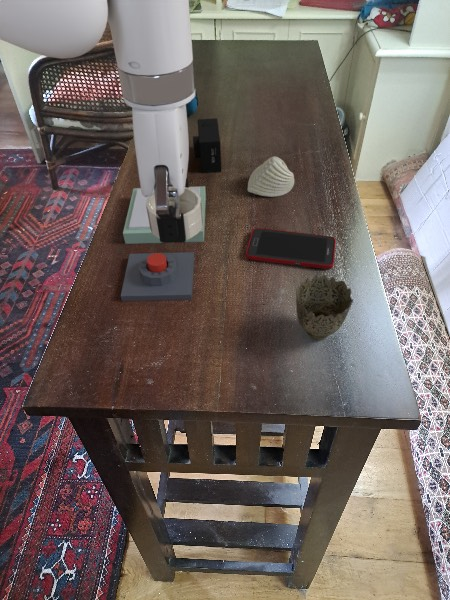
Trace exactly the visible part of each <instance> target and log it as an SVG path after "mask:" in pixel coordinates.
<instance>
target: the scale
mask: <svg viewBox="0 0 450 600" xmlns="http://www.w3.org/2000/svg"><path fill="white" fill-rule="evenodd" d="M189 188H191V189H192V190H194V191H196V192H197V193H198V194H199V196H200V197H201V206H202V219H203V224H202V229H201V230H200V231H199V233H198V234H197V235H195V236H194V237H192V238H190V239H188V240H186V241H185V242H184V243H204V242H205V230H206V229H205V228H206V205H207V194H206V192H207V191H206V186H205V185H203V186H189ZM152 193H154V189H153V192H152ZM148 197H149V196H148ZM148 197H145V196H143V194H142V193H141V187H137V188H136V187H135V188H133V189H132V194H131V198H130V201H129V206H128V210H127V215H126V218H125V222H124V227H123V231H122V236H123V240H124V244H126V245H130V244H163V243H162V242H161V241H160V239H159V238H158V237H156V236H155V235H153V234H152V231H151V229H150V225H149V219H148V214H147V208H146V202H147V199H148Z"/></svg>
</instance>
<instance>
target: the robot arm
mask: <svg viewBox="0 0 450 600" xmlns="http://www.w3.org/2000/svg"><path fill="white" fill-rule="evenodd" d="M107 23H108V25H109V29H110V34H111V39H112V40H111V41H112V45H113V50H114V55H115V60H116V66H117V67H116V68H117V72H118V78H119V83H120V90H121V95H122V99H123V102H124V103H125V104H126V105H127V106H128V107H130V108H131V117H132V118H131V119H132V132H133V142H134V149H135V157H136V164H137V165H136V166H137V173H138V178H139V186H140V187H139V188H141V193H142V194H143V196H145V197H148V196H151V195H152V192H153V189H154V192H155V207H156V220H157V226H158V232H159V238H160V241H161V242H162V243H161V244H168V243H169V244H170V243H171V244H173V243H175V244H176V243H186V242H185V241H186V233H185V224H184V215H183V213H181V210H180V196H181V195H182V194H183V193H184V190H185V187H187V188H189V187H190V185H189V178H188V177H187V176H188V169H189V159H190V157H189V156H190V144H189V143H190V142H189V125H188V115H187V112H186V104H187V103H189V102H190V101H191V100H192V99H193V98H194V97H195V89H196V82H195V81H196V80H195V67H194V54H193V53H194V52H193V42H192V41H193V40H192V28H191V27H192V26H191V14H190V0H0V40H1V41H3V42H6V43H8V44H10V45H13V46H15V47H18V48H20V49H23V50H25V51H29V52H30V53H34V54H37V55H39V56H44V57H48V58H55V59H60V60H61V59H73V58H78V57H81V56H83V55H85V54H87V53H89V52H91V50H93V49H94V48H95V47H96V46H97V45H98V43H100V41H101V39H102V38H103V35H104V33H105V31H106V29H107ZM170 186H173V187H174V189H175V191H169V187H170ZM169 197H174V203H175V208H174V207H173V205H170V203H169Z"/></svg>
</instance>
